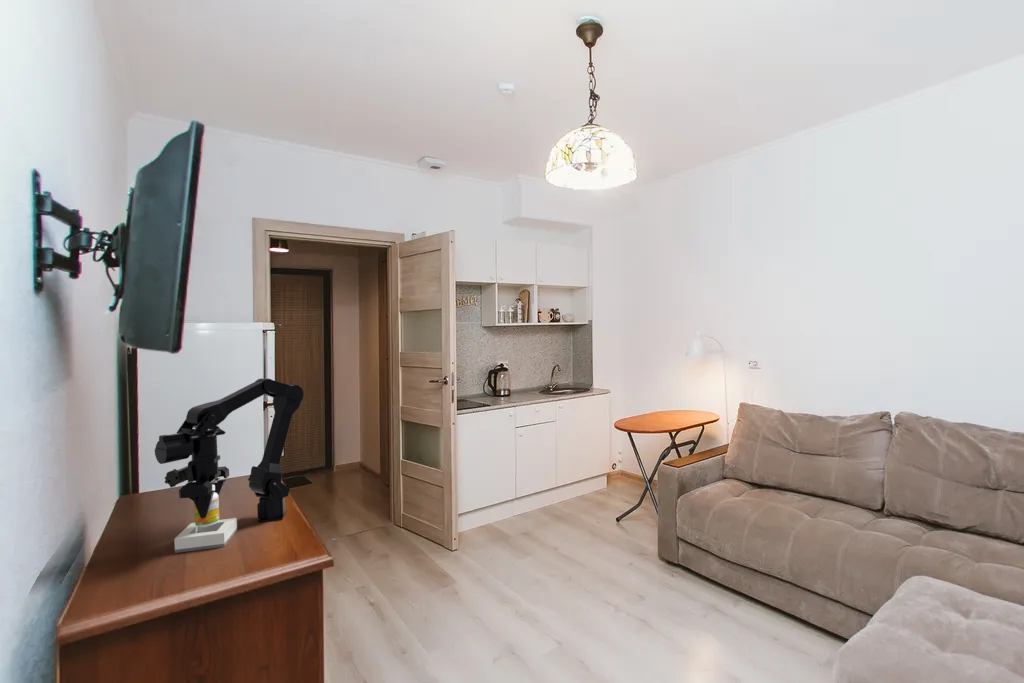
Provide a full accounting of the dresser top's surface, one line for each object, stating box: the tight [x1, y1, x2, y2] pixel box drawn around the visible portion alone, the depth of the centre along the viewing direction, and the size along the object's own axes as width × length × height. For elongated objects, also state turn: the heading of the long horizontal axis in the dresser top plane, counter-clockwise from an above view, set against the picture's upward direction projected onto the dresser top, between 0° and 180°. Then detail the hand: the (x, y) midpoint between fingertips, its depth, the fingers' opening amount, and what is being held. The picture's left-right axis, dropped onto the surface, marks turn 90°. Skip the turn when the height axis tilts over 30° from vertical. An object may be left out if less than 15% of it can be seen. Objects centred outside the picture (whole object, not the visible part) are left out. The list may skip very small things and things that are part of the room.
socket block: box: [174, 517, 238, 554], centre depth 127 cm, size 11×11×4 cm
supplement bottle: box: [193, 484, 220, 527], centre depth 128 cm, size 5×5×10 cm
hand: (207, 514), depth 128 cm, fingers closed on supplement bottle, 5 cm apart
